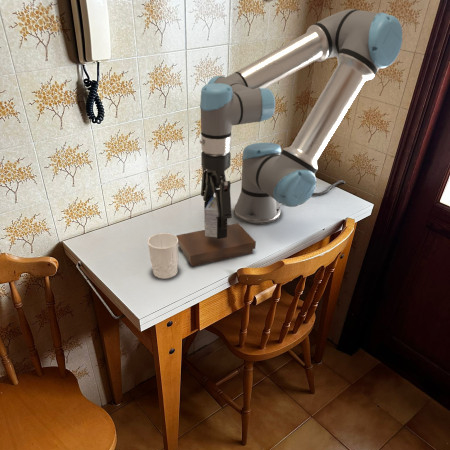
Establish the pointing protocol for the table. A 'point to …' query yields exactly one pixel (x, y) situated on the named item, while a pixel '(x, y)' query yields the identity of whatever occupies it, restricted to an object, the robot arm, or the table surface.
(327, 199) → the table surface
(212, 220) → the medicine box
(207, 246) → the board
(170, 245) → the white cup
